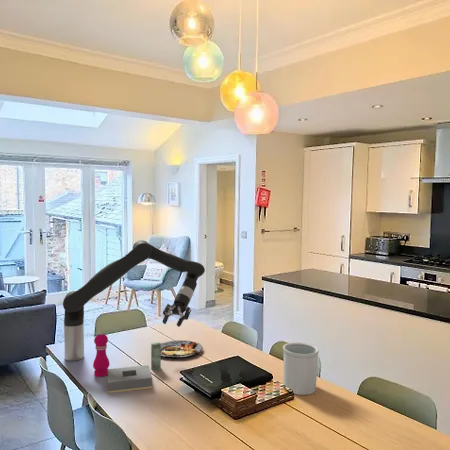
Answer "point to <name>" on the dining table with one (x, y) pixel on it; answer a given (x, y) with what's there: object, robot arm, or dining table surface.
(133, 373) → the pin block
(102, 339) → the pepper mill
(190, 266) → the robot arm
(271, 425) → the dining table surface
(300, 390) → the utensil holder
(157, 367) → the sage pin
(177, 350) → the food plate
